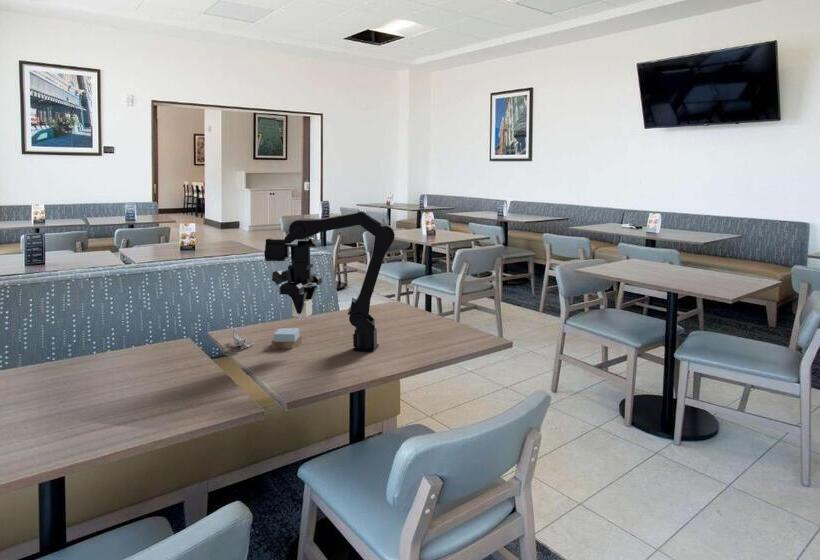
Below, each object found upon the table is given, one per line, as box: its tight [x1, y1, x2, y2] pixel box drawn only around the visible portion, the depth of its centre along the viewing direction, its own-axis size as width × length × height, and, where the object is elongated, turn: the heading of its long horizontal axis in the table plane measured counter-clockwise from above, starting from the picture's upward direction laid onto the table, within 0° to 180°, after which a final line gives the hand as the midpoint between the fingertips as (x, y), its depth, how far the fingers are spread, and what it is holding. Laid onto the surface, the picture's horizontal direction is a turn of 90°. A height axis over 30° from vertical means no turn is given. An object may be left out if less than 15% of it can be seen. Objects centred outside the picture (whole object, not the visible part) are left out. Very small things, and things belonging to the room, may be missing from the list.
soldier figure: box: [232, 328, 255, 349], centre depth 184 cm, size 8×5×12 cm
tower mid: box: [273, 327, 301, 342], centre depth 185 cm, size 6×6×2 cm
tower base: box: [270, 336, 303, 350], centre depth 185 cm, size 7×7×2 cm
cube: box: [291, 299, 313, 318], centre depth 177 cm, size 4×4×4 cm
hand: (302, 311), depth 177 cm, fingers closed on cube, 4 cm apart
